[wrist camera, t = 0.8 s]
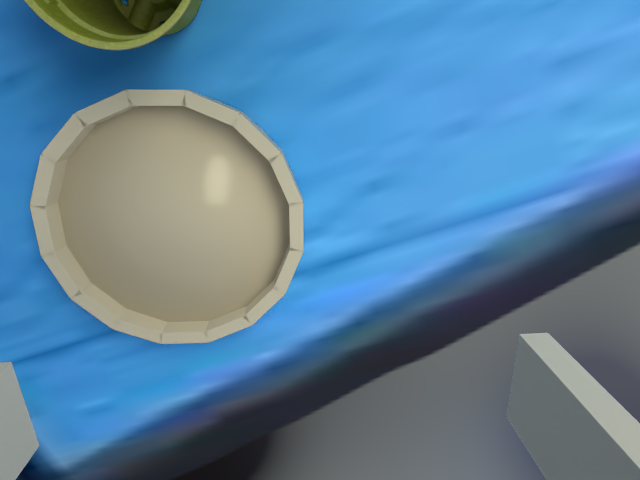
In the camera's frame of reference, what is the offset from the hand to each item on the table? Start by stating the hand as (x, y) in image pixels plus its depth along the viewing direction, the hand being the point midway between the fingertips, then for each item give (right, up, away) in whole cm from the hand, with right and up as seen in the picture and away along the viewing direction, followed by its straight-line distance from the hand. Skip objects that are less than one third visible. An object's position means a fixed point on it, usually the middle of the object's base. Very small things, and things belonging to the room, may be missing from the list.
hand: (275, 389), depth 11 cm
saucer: (-10, +6, +22) cm, 24 cm away
